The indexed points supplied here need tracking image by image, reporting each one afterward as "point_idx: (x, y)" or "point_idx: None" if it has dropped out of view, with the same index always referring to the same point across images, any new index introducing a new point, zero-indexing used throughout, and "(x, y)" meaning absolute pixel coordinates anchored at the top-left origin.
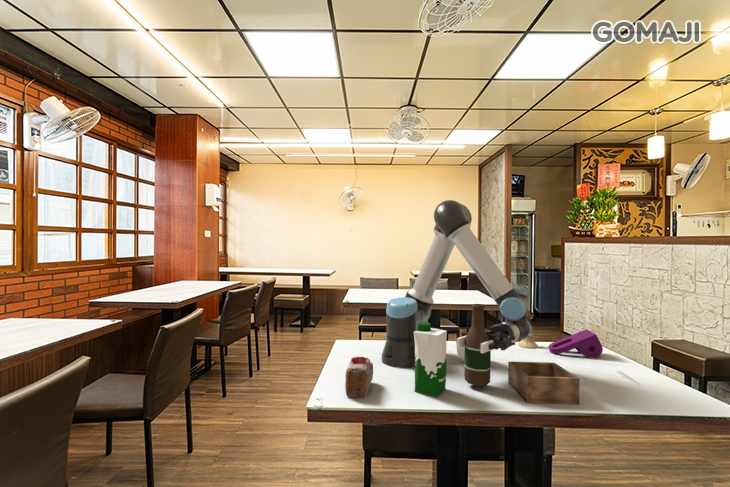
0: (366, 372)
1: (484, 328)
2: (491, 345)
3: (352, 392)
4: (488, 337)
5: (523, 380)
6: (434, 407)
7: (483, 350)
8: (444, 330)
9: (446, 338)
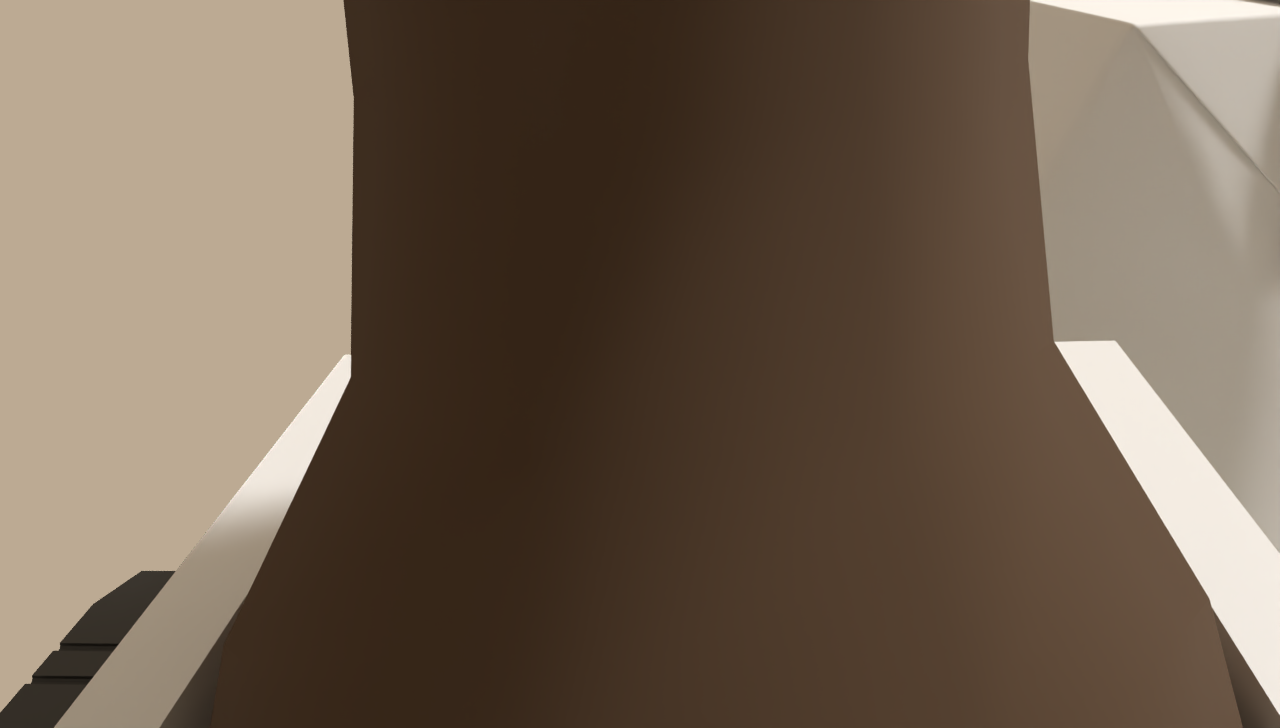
0: None
1: (357, 233)
2: (146, 582)
3: None
4: (231, 649)
5: None
6: None
7: None
8: (1157, 15)
9: (1046, 163)
